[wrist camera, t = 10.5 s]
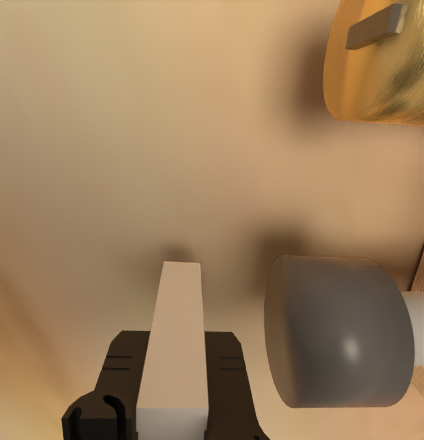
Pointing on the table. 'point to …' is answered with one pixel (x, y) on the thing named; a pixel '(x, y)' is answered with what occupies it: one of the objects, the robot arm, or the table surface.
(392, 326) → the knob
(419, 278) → the panel
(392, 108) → the silver and brass cylinder
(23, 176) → the table surface
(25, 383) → the table surface
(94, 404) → the robot arm
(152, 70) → the table surface
